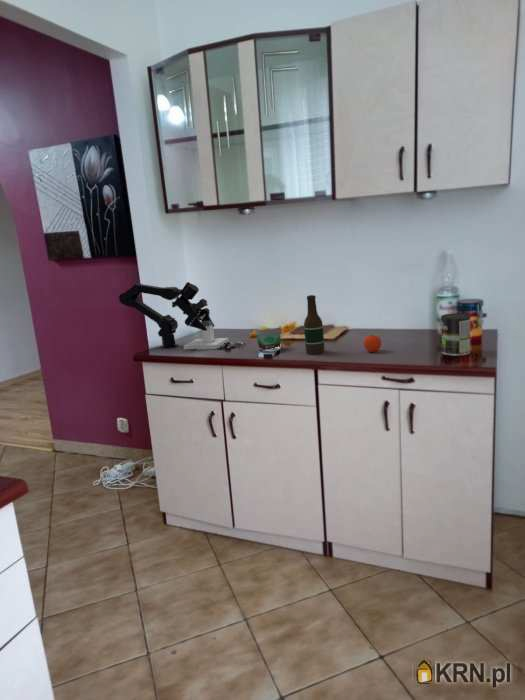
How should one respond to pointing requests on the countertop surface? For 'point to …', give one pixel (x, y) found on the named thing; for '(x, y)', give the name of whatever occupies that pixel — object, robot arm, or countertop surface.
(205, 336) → the plug
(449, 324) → the coffee can
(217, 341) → the socket
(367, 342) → the clementine
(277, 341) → the food container
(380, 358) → the countertop surface
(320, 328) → the beer bottle
